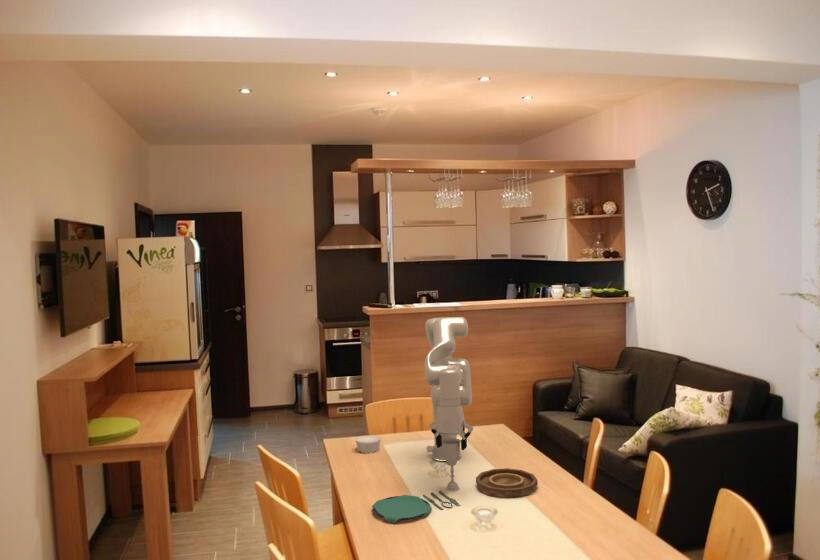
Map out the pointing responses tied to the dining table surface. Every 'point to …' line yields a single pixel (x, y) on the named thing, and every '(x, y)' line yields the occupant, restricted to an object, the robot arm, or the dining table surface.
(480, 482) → the tray
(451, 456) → the chalice
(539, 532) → the dining table surface
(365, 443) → the ramekin
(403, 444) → the dining table surface
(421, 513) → the cutlery set
